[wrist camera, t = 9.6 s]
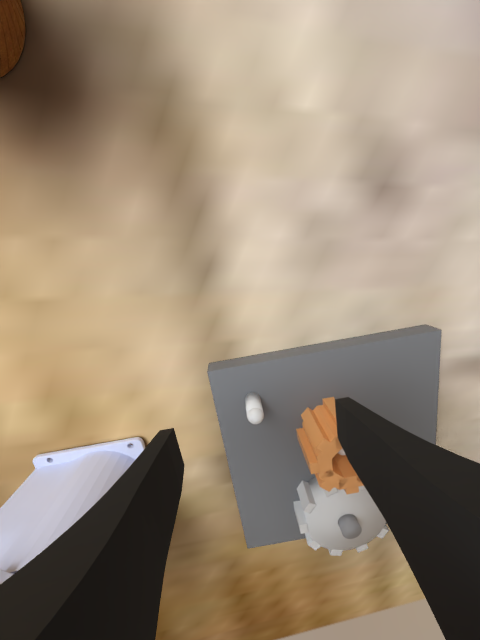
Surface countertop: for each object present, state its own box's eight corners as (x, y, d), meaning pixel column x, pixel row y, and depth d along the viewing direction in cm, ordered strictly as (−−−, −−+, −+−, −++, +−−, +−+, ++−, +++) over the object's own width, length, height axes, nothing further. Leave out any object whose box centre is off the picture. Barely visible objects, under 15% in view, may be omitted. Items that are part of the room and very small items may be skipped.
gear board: (246, 531, 25) (250, 586, 21) (208, 363, 20) (203, 391, 16) (420, 500, 25) (458, 549, 21) (426, 324, 20) (477, 342, 16)
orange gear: (300, 460, 21) (314, 500, 18) (292, 404, 20) (306, 435, 16) (365, 449, 21) (391, 486, 18) (362, 391, 20) (391, 420, 16)
